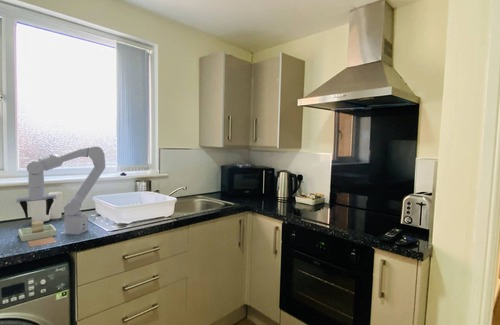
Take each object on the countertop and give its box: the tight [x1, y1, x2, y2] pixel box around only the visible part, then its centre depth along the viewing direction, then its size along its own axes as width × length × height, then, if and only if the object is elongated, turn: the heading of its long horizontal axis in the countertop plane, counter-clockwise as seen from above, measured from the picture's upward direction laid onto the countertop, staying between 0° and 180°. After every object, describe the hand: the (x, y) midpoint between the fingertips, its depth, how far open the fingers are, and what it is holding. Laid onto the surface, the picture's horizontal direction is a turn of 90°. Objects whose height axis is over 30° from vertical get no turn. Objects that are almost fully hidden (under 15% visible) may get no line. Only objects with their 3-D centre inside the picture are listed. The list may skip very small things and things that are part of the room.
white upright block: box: [47, 191, 64, 220], centre depth 159 cm, size 7×7×15 cm
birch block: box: [30, 221, 45, 234], centre depth 128 cm, size 4×4×6 cm
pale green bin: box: [18, 223, 58, 242], centre depth 128 cm, size 13×13×3 cm
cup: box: [30, 199, 51, 223], centre depth 150 cm, size 8×8×14 cm
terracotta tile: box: [27, 236, 57, 248], centre depth 120 cm, size 9×9×1 cm
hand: (37, 216), depth 128 cm, fingers open, 7 cm apart
